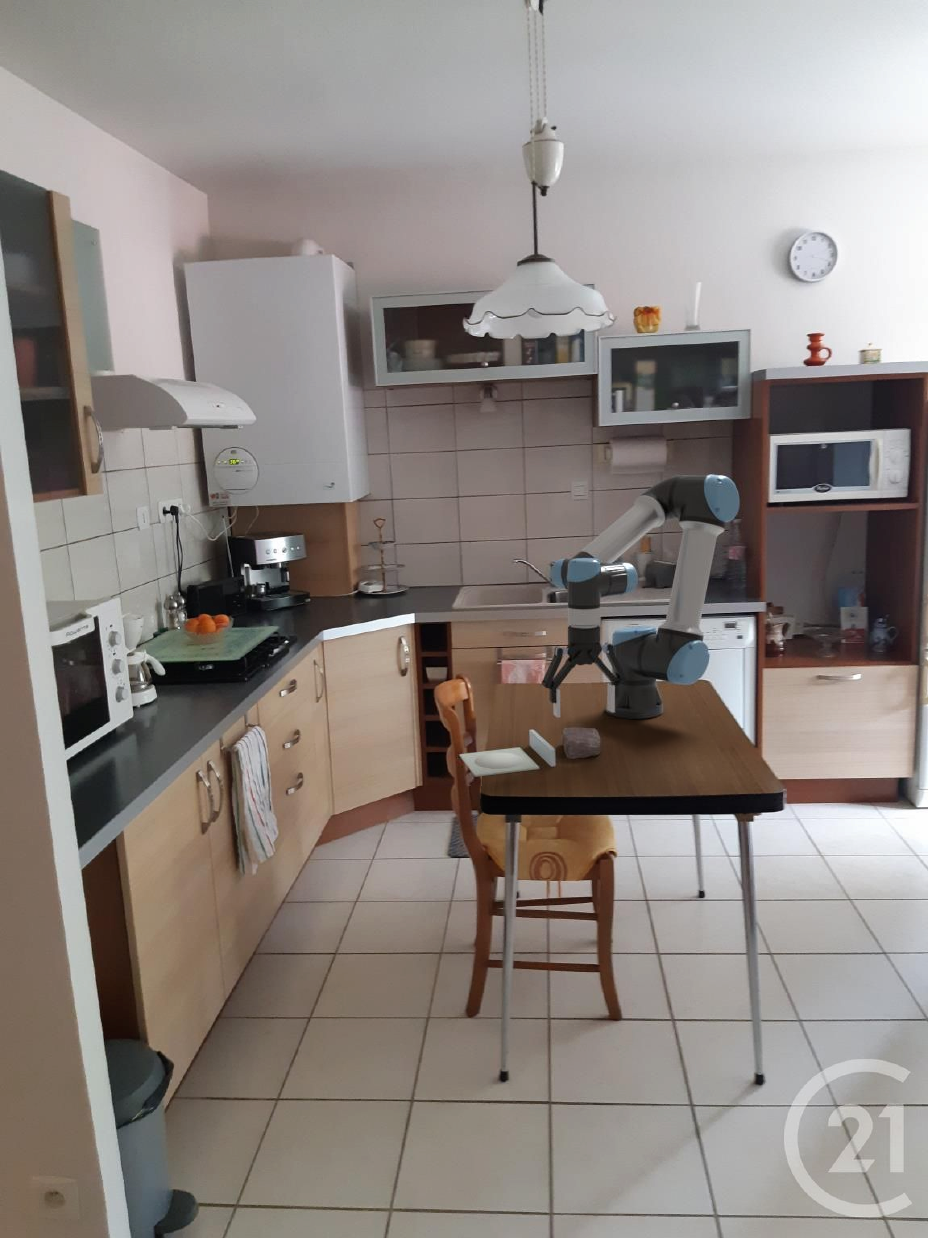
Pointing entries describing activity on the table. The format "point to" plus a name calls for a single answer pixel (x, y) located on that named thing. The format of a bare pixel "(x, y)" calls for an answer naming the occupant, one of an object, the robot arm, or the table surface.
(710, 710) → the table surface
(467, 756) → the rest mat
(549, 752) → the acrylic wall
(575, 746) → the stone
